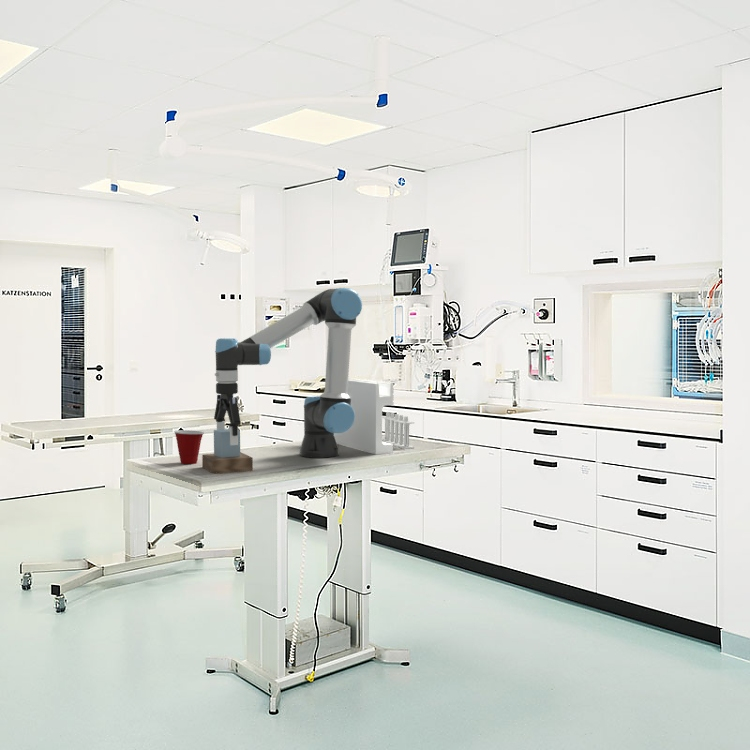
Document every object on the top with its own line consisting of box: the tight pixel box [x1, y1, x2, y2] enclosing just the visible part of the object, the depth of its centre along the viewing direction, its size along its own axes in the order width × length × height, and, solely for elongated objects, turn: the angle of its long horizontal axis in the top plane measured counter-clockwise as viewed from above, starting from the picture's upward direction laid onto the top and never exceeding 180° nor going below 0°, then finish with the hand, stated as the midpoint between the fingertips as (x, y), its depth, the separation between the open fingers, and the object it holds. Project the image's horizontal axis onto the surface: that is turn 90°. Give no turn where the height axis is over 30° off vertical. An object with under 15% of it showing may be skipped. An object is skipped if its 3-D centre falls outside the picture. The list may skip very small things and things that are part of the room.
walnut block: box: [201, 451, 254, 475], centre depth 284 cm, size 14×14×5 cm
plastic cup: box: [173, 429, 205, 465], centre depth 296 cm, size 11×11×12 cm
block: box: [334, 377, 395, 456], centre depth 334 cm, size 35×8×28 cm, turn 31°
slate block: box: [213, 428, 241, 458], centre depth 284 cm, size 7×7×9 cm
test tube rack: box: [382, 411, 415, 450], centre depth 344 cm, size 25×4×13 cm, turn 24°
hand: (227, 442), depth 284 cm, fingers open, 13 cm apart
